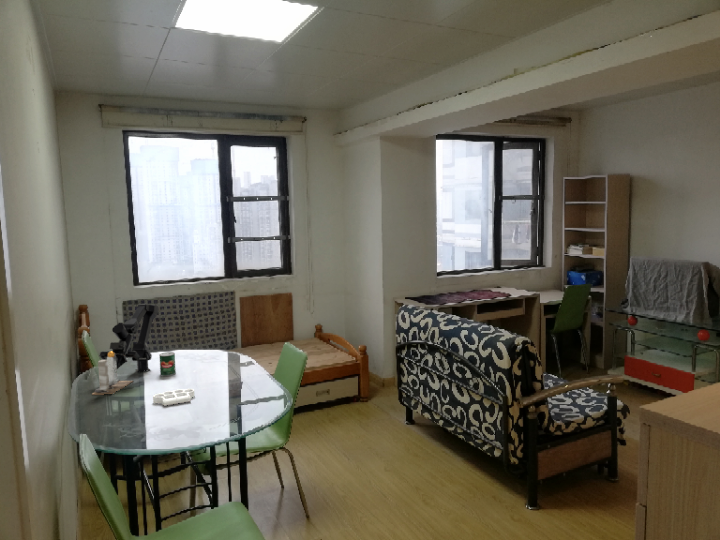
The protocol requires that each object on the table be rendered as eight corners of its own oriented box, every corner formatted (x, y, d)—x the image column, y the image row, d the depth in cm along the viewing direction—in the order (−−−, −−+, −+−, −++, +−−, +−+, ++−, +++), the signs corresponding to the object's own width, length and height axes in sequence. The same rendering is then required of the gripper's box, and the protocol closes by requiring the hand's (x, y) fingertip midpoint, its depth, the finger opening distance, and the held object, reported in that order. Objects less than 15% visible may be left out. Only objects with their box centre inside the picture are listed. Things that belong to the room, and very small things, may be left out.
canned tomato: (163, 376, 279) (162, 356, 278) (158, 373, 285) (156, 353, 284) (178, 373, 284) (177, 353, 283) (172, 370, 290) (171, 351, 289)
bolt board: (114, 382, 271) (112, 351, 270) (133, 381, 270) (131, 351, 269) (92, 394, 251) (89, 362, 249) (112, 394, 250) (110, 361, 249)
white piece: (156, 409, 229) (151, 400, 242) (198, 402, 238) (192, 393, 251) (155, 401, 229) (151, 392, 242) (198, 394, 238) (191, 386, 250)
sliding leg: (107, 383, 263) (105, 350, 261) (118, 383, 262) (116, 350, 261) (103, 386, 259) (100, 352, 257) (114, 386, 258) (111, 352, 257)
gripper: (99, 335, 266) (88, 362, 256) (135, 335, 265) (125, 362, 255) (109, 347, 275) (98, 373, 265) (143, 347, 273) (134, 373, 263)
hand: (114, 370), depth 262 cm, fingers closed, pressing on sliding leg
